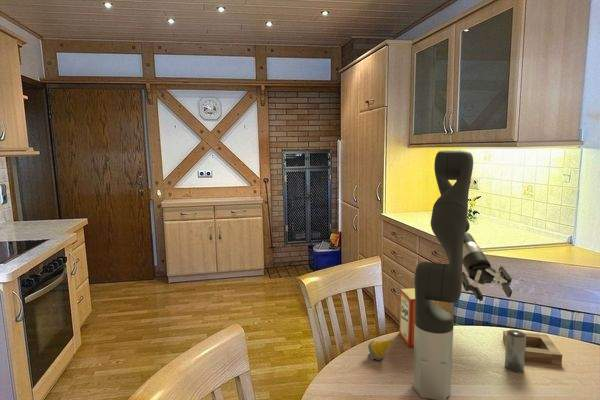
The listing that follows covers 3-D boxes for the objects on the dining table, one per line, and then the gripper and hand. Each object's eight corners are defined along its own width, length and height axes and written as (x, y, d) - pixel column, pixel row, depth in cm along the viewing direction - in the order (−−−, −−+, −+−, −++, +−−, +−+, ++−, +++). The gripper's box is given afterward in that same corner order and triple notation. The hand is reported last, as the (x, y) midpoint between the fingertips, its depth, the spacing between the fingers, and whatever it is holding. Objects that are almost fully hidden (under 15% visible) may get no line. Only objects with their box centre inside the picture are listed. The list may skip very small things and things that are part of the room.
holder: (561, 365, 111) (562, 355, 110) (512, 359, 114) (513, 349, 113) (546, 344, 123) (547, 335, 122) (502, 339, 126) (503, 330, 125)
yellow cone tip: (374, 351, 120) (397, 336, 115) (375, 367, 115) (400, 352, 111) (361, 343, 118) (384, 328, 114) (362, 359, 114) (386, 343, 109)
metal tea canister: (526, 373, 107) (528, 338, 105) (506, 371, 108) (509, 336, 107) (521, 364, 111) (523, 330, 110) (502, 362, 112) (504, 328, 111)
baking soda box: (399, 333, 131) (400, 287, 129) (418, 332, 131) (419, 286, 129) (409, 347, 121) (410, 298, 119) (429, 346, 122) (431, 297, 120)
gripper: (453, 253, 128) (474, 292, 115) (496, 247, 128) (522, 286, 115) (450, 269, 133) (470, 308, 120) (492, 263, 132) (516, 301, 120)
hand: (495, 297), depth 118 cm, fingers open, 8 cm apart
